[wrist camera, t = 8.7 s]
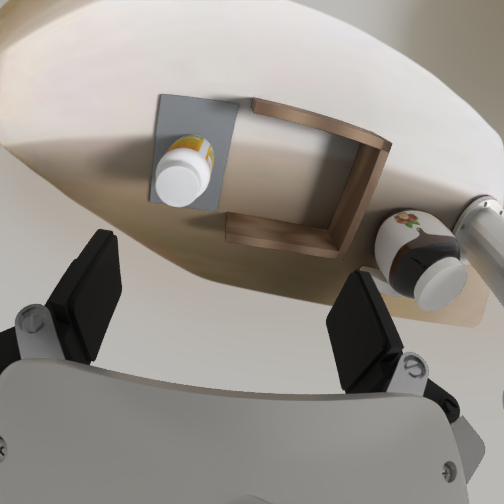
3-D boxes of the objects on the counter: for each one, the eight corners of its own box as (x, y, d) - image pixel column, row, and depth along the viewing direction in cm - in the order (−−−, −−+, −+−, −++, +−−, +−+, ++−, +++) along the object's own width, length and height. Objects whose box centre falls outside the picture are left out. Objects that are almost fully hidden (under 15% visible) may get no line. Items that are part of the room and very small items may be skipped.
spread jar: (434, 204, 32) (485, 255, 23) (418, 268, 39) (453, 324, 30) (357, 210, 33) (399, 272, 23) (349, 280, 39) (376, 345, 30)
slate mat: (238, 104, 25) (238, 104, 25) (217, 210, 32) (216, 212, 31) (162, 93, 24) (161, 94, 23) (151, 200, 31) (150, 202, 30)
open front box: (373, 132, 27) (392, 143, 23) (332, 238, 35) (343, 260, 31) (253, 97, 25) (256, 101, 21) (226, 219, 33) (225, 241, 29)
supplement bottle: (160, 156, 27) (135, 188, 20) (191, 124, 26) (174, 145, 19) (192, 185, 29) (179, 225, 23) (224, 155, 28) (220, 187, 21)
